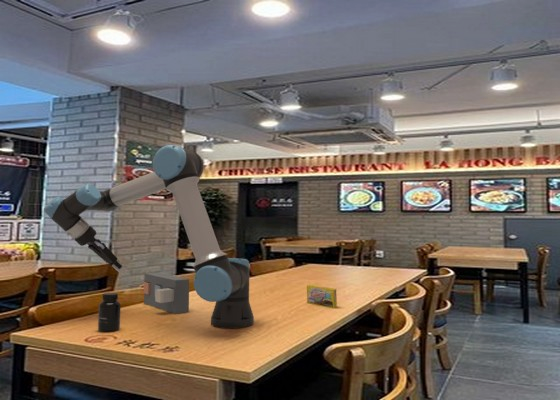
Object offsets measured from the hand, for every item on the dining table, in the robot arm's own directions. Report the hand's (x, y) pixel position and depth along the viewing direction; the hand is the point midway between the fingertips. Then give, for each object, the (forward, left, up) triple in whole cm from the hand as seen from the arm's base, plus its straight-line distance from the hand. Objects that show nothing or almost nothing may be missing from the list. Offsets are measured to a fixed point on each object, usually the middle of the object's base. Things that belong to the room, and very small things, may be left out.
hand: (125, 273), depth 180 cm
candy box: (+16, -79, -16) cm, 83 cm away
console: (+10, -13, -15) cm, 23 cm away
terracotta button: (+19, -7, -11) cm, 23 cm away
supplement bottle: (-29, -4, -16) cm, 33 cm away
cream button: (-1, -17, -11) cm, 20 cm away
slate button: (+11, -14, -11) cm, 20 cm away
